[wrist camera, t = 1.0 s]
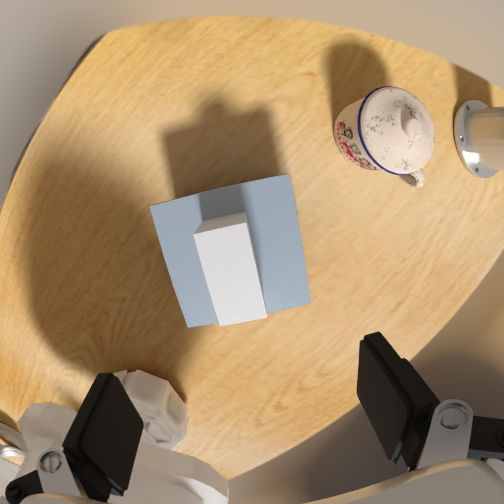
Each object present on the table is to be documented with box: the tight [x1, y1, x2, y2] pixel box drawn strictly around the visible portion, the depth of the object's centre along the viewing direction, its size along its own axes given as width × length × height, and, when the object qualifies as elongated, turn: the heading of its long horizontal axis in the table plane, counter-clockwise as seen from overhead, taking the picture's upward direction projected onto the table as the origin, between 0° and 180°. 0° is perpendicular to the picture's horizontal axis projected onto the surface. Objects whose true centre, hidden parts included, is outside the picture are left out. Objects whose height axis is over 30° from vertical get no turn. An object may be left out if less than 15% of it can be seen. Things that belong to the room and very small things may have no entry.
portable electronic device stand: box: [0, 423, 29, 481], centre depth 46 cm, size 26×24×16 cm
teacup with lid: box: [334, 86, 435, 188], centre depth 26 cm, size 12×9×12 cm
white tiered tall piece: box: [14, 369, 229, 504], centre depth 26 cm, size 27×27×35 cm
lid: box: [150, 174, 311, 328], centre depth 25 cm, size 13×13×6 cm
